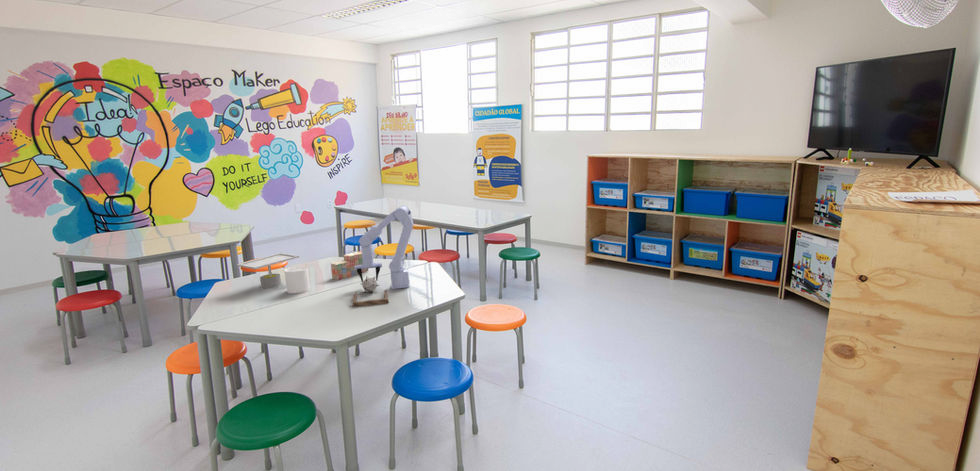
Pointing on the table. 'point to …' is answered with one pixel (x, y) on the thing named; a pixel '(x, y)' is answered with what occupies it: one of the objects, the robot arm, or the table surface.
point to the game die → (369, 284)
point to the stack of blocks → (347, 266)
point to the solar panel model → (269, 279)
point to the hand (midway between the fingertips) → (369, 281)
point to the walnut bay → (370, 301)
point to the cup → (297, 279)
